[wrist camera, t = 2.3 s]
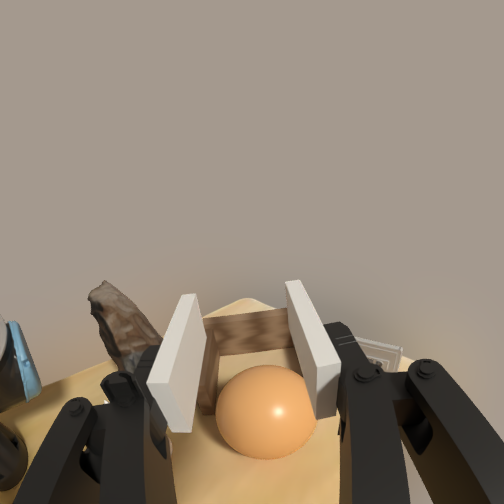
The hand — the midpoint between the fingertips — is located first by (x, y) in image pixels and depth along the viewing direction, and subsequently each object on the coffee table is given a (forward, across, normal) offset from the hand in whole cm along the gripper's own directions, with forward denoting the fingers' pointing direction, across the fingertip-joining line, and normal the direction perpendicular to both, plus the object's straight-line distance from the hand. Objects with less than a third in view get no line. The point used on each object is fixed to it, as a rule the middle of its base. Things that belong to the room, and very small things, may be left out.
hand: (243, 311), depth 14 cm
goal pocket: (+26, 0, -28) cm, 38 cm away
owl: (+27, -22, -28) cm, 45 cm away
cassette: (+20, +17, -28) cm, 39 cm away
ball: (+11, 0, -22) cm, 24 cm away
